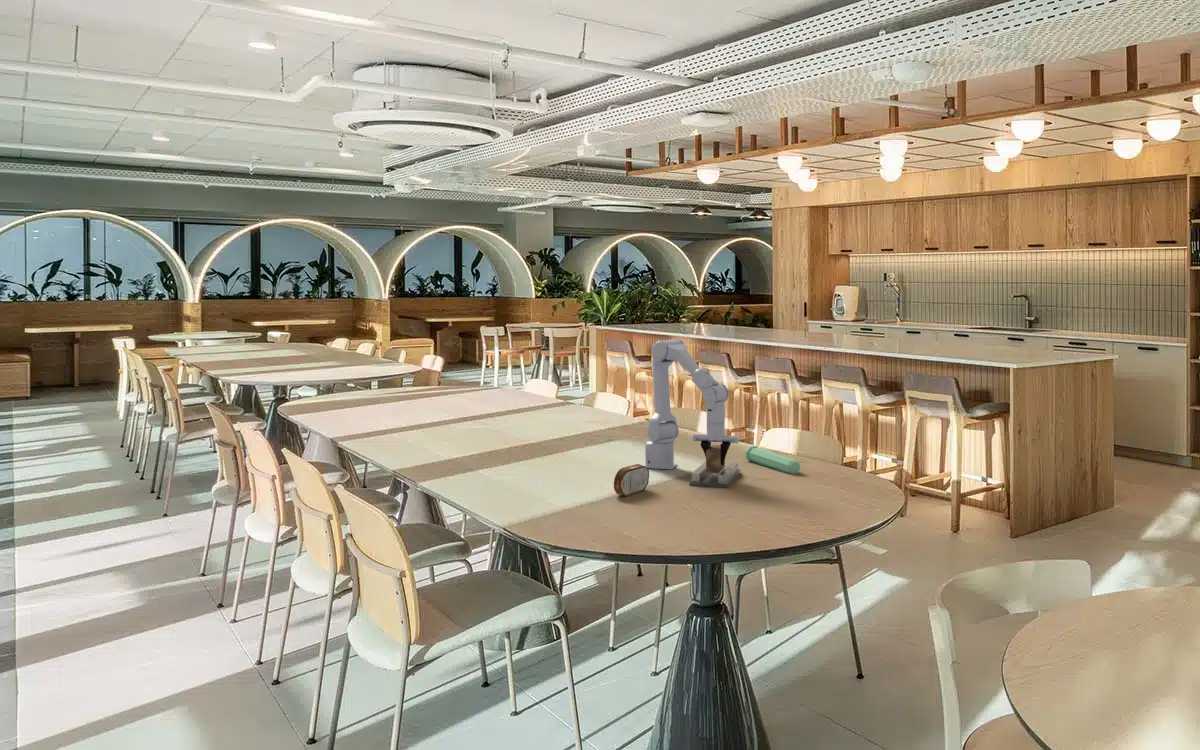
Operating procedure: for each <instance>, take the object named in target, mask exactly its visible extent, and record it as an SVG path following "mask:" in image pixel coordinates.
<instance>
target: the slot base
mask: <svg viewBox="0 0 1200 750" xmlns="http://www.w3.org/2000/svg"><path fill="white" fill-rule="evenodd" d="M739 473H740V474H741V469H740V468H739V462H734V461H733V462H731V461H730V462H729V463H728V465H727V466H725V467H724V468H723V469H722V470H721V471H720V472H719V473H708V472H706V460H705V461H704V462H703V463H701V465H699V466H698V467H697V468H696V469H695V470H694V471H693V472H692V473H691V479H690V480H689V482H688V484H689V486H693V485H694V487H695V486H696V487H697V486H698V487H710V488H711V486H712V487H713V488H724V487H727V488H728V487H730V486H731V485H732V483H733V482H734V481H735V480H736V478H737V477H738V476H739V475H740V474H739ZM734 479H735V480H734ZM733 480H734V481H733ZM732 481H733V482H732ZM731 482H732V483H731Z"/></svg>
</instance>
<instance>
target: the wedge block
mask: <svg viewBox="0 0 1200 750" xmlns="http://www.w3.org/2000/svg"><path fill="white" fill-rule="evenodd" d="M705 461H706V472H708V473H719V472H720V471H721V470H722V469H723V468H726V461H725V462H724V465H721V446H720V444H718V445H717V444H711V447H710V448H709V449H708V450H706V456H705Z"/></svg>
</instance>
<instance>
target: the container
mask: <svg viewBox="0 0 1200 750" xmlns="http://www.w3.org/2000/svg"><path fill="white" fill-rule="evenodd" d="M745 459H746V460H747V461H748V462H750V463H751V462H753V463H755V464H759V465H761V466H765V467H768V468H771V469H774V470H777V471H780V472H783V473H785V474H790V475H796V474H798V473H799V472H800V470H801V464H800V463H799V462H798V461H797V460H795V459H793V458H790V457H787V456H784V455H780V454H778V453H774V452H771V451H768V450H765V449H761V448H759V447H758V446H756V445H754V446H753V445H752V446H751V445H750V446H749V447H748V448H747V449H746V451H745Z"/></svg>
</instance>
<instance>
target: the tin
mask: <svg viewBox="0 0 1200 750" xmlns="http://www.w3.org/2000/svg"><path fill="white" fill-rule="evenodd" d="M649 480H650V470H649V468H647V467H646V465H641V464H640V463H636V464H633V465H628V466H624V467H622V468H620V469H619V470H618V471H616V473H615V476H614V479H613V490H614V492H615V493H616V494H617V495H618V496H623V497H629V496H631V495H635V494H638V493H640V492H643V491H645V490H646V488H647V486H648V484H649Z"/></svg>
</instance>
